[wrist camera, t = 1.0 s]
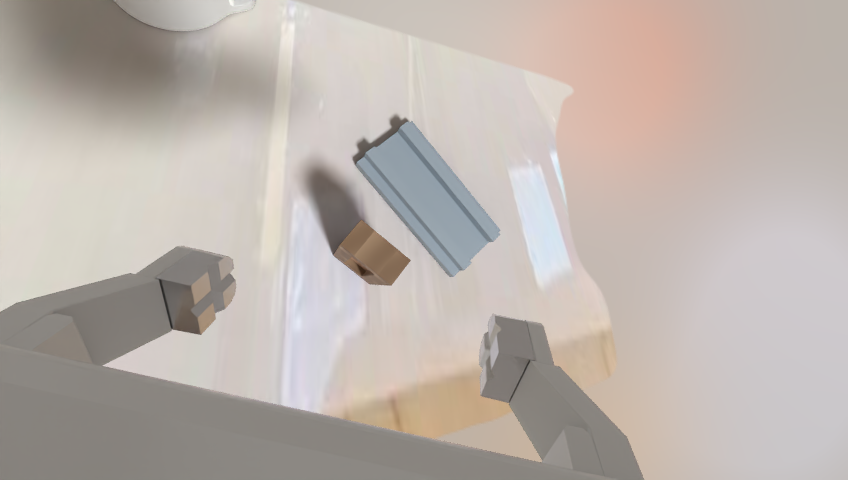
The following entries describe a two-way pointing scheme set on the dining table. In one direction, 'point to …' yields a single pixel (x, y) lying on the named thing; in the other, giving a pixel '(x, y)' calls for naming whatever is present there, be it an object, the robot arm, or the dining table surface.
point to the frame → (371, 256)
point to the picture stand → (428, 198)
